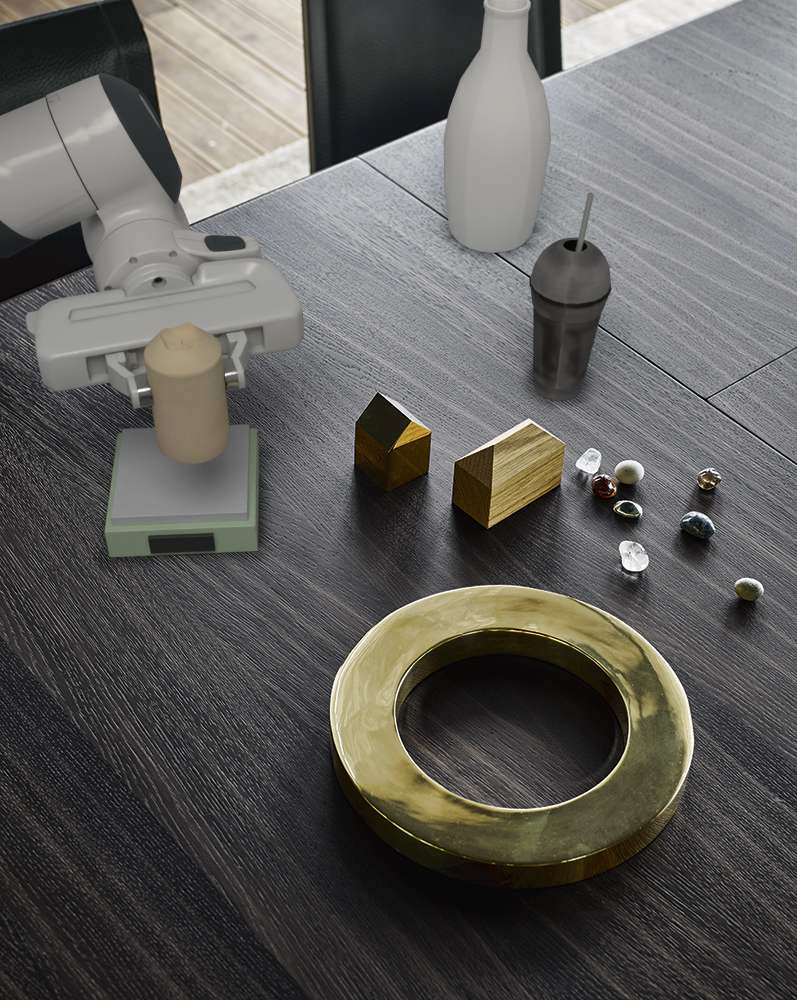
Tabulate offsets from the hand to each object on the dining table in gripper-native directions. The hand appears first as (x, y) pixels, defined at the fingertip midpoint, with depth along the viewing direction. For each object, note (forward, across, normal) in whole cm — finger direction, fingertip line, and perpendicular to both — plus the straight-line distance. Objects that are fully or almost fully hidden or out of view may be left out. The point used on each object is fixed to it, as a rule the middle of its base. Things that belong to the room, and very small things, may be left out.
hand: (190, 391), depth 91 cm
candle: (-1, 0, +6) cm, 6 cm away
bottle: (-38, +40, +17) cm, 57 cm away
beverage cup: (-11, +36, +17) cm, 41 cm away
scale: (-6, -1, +17) cm, 18 cm away
